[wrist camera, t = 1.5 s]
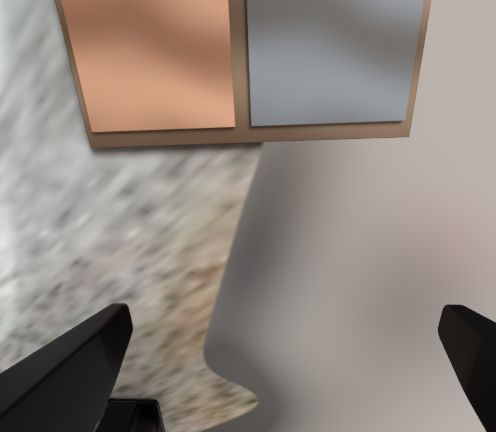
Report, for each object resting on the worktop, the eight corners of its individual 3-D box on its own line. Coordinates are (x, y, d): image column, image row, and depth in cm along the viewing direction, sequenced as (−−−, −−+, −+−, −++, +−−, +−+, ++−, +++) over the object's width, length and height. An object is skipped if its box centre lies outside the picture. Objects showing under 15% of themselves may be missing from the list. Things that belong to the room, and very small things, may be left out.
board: (403, 135, 19) (411, 137, 18) (97, 145, 20) (88, 148, 19) (443, -125, 14) (457, -142, 13) (42, -89, 15) (27, -101, 14)
